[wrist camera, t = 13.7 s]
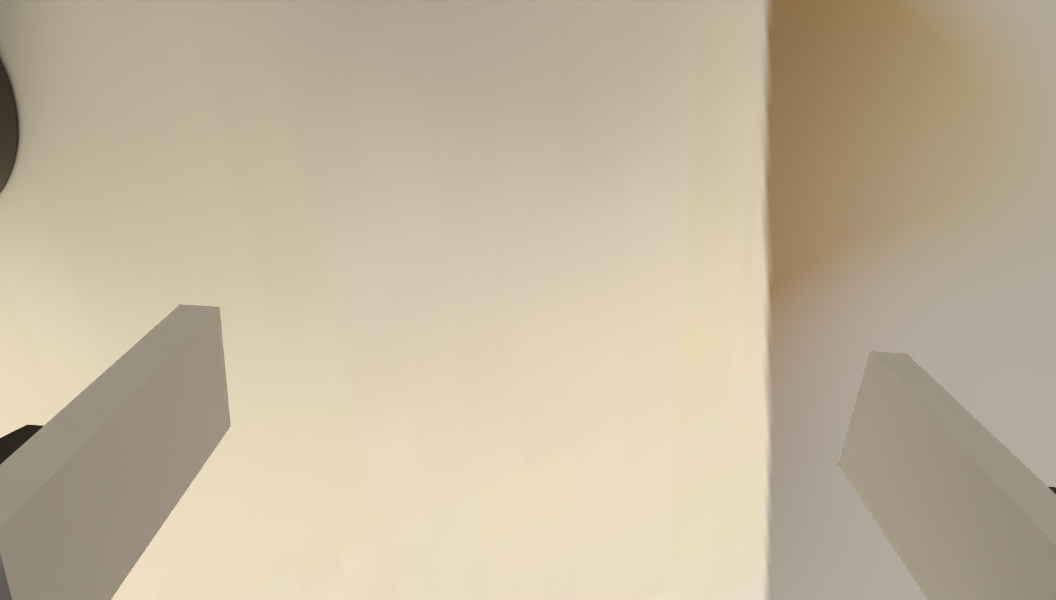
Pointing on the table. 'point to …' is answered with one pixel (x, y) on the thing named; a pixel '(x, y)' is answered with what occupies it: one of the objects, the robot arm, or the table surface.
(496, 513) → the table surface
